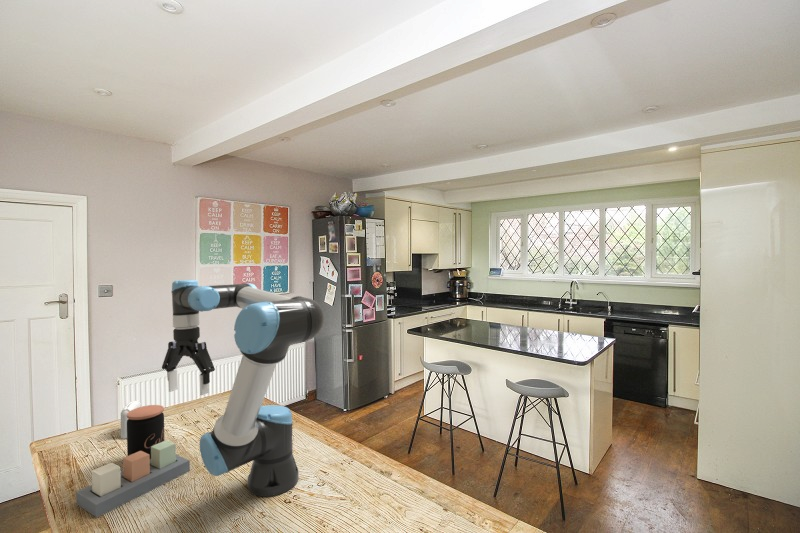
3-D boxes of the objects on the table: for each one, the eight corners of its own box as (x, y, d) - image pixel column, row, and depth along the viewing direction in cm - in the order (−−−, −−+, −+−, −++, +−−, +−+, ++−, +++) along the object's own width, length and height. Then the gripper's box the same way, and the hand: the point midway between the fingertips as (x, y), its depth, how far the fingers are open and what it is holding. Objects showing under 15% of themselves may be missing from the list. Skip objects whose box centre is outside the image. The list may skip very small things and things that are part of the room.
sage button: (175, 461, 126) (175, 443, 125) (159, 469, 121) (159, 450, 121) (167, 457, 128) (166, 440, 128) (151, 464, 124) (150, 446, 124)
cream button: (120, 487, 112) (120, 466, 112) (100, 496, 107) (100, 475, 107) (112, 482, 114) (111, 462, 114) (92, 491, 110) (91, 470, 110)
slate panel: (189, 470, 126) (189, 460, 126) (96, 517, 103) (96, 504, 103) (168, 461, 132) (168, 451, 132) (76, 503, 109) (75, 491, 109)
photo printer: (131, 428, 158) (131, 398, 158) (143, 427, 159) (142, 397, 159) (119, 439, 148) (118, 408, 148) (131, 438, 149) (131, 407, 148)
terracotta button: (149, 473, 119) (149, 454, 118) (132, 481, 114) (131, 462, 114) (141, 469, 121) (140, 450, 121) (123, 477, 117) (123, 457, 117)
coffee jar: (146, 473, 125) (145, 418, 124) (119, 469, 127) (118, 415, 127) (172, 456, 135) (171, 405, 135) (146, 453, 137) (145, 403, 137)
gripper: (225, 326, 124) (227, 391, 124) (168, 324, 133) (170, 385, 133) (206, 330, 117) (208, 399, 117) (148, 328, 126) (150, 392, 126)
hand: (188, 392), depth 125 cm, fingers open, 13 cm apart
